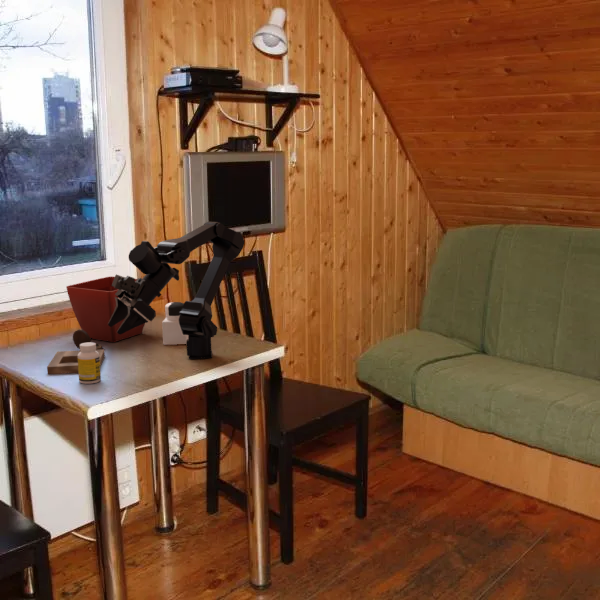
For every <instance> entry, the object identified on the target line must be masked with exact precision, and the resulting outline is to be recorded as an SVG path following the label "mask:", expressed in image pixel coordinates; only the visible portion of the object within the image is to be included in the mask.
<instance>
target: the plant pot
mask: <svg viewBox="0 0 600 600" xmlns="http://www.w3.org/2000/svg"><path fill="white" fill-rule="evenodd" d="M114 278H115V276H105V277H101V278H97V279H92V280H88V281H83V282H79V283H75V284H69V285H66V291H67V296H68V299H69V302H70V305H71V308H72V311H73V313H74V316H75V318H76V321H77V322H78V325H79V327H80V329H82V330H84V331H85V332H86V333H87V334H88V335H89V337H90V339H91V338H92V339H93V340H99V341H104V342H111V343H115V342H118V341H122V340H126V339H128V338H131V337H135V336H138V335H140V334H142V333H143V331H144V329H145V326H146V323H144V324H142V325H139V326H137V327H135V328H133V329H131V330H129V331H127V332H125V333H123V334H121V335H119V334H118V333H117V330H118V329H119V327H120V325H121V324H122V322H123V321H124V319H123V320H122V321H120V322H118V323H117V324H115V325H114V326H112V327H110V326H109V325H108V322H109V320H110V318H111V316H112V314H113V312H114V310H115V307H116V300H115V297H117V296H116V295H115V293H116V292H117V291H118V290H119V289H116V288H114V286H112V283H113V281H114ZM137 279H138V278H135V281H136V280H137ZM117 298H118V297H117Z"/></svg>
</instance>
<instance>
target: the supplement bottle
mask: <svg viewBox="0 0 600 600" xmlns="http://www.w3.org/2000/svg"><path fill="white" fill-rule="evenodd" d="M96 344H97V343H96V342H92V341H91V342H87V343H82V344H80V349H79V350H80V351H81V352H80V353H79V354H78V372H79V373H78V381H79V383H80V384H83V385H91V384H97V383H99V382H101V378H102V375H101V366H100V356H99V353H98V352H97V351H95V350H96Z"/></svg>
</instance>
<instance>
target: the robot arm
mask: <svg viewBox="0 0 600 600" xmlns="http://www.w3.org/2000/svg"><path fill="white" fill-rule="evenodd" d="M208 242H209V243H211V244H212V246H211V247H212V255H213V256H212V258H211V261H210V263H209V266H208V267H207V270H206V272H205V275H204V276H203V279H202V281H201V283H200V285H199V288H198V290H197V292H196V295H195V296H194V298H193V299H192V300H191V301H190V300H185V302H183V303H184V305H183V308H182V310H181V311H180V312H179V314H180V316H179V324H180V327H181V330H182V333H183V335H188V339H187V341H186V356H188V360H198V359H199V360H201V359H202V360H203V359H204V360H205V359H212V358H213V350H212V338H214V337H215V336H217V332H218V327H217V325H216V324H215V323H214V322H213V320H212V318H213V311H212V304H213V302H214V300H215V298H216V295H217V292H218V291H219V288H220V286H221V283H222V281H223V279H224V276H225V274H226V272H227V270H228V267H229V266H230V263H232V261H234V260H235V259H237V258H238V257H239V255H240V254H241V252H242V250H243V249H244V245H245V239H244V237H243V235H242V233H240V232H237V231H236V230H233V229H231V228H229V227H227V226H225V225H224V224H223V223H221V222H218V221H206V222H204V223H203V225H200V226H198V227H197V228H195V229H194V230H192V231H190V232H188V233H186V234H184V235H182V236H180V237H177V238H170V239H167V240H163V241H160V242H159V243H157V245H156V246H155V247H154V246H153V245H152V244H151V242H149V240H142V241H141V243H140V244H138V245H136V246H135V247H133V248H132V249H131V250H130V251H129V254H128V260H129V262H130V263H131V264H132V265H134V266H135V267H136V269H138V270H139V271H140V272H141V273H143V275H144V276H143V277H142V278H141V277H138V278H135V277H131V276H129V275H126V277H125V276H122V275H119V274H116V273H115V274H114V275H115V276H114V277H115V278H114V281H113V283H112V286H114V288H116V289H119V290H118V291H117V292H116V293H115V295H116V296H117V297H118V298H117V297H115V300H116V307H115V310H114V312H113V314H112V316H111V318H110V320H109V322H108V325H109V326H110V327H112V326H114V325H115V324H117V323H118V322H120V321H122V320H123V319H124V321H123V322H122V324H121V325H120V327H119V329H118V330H117V333H118V334H119V335H121V334H123V333H125V332H127V331H129V330H131V329H133V328H135V327H137V326H139V325H142V324H144V323H145V324H147V323H149V322H152V321H153V320H154V319H155V318H156V316H157V315H156V314H157V313H156V312H157V311H156V310H155V309H154V308H153V307H152V306H151V304H152V302H153V301H154V300H155V299H156V298H160V297H161V296H162V294H161V292H162V290H164V288H165V287H166V286H167V284H168V283H170V281H171V280H172V279H174V280H176V281H179V280H180V274H179V272H180V270H179V269H177V268H176V267H172V266H171V265H169V264H172V265H181V264H183V263H184V262H185V261H186V260H187V259H188V258H189V257H190V256H191V252H193V251H194V250H196V249H198V248H200V247H201V246H203V245H205V244H207V243H208ZM135 279H137V280H136V281H135Z"/></svg>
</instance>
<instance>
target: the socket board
mask: <svg viewBox="0 0 600 600" xmlns="http://www.w3.org/2000/svg"><path fill="white" fill-rule="evenodd" d="M95 351H97V352H98V353H99V356H100V367H101V366H102V363H103V362H102V361H104V359H105V357H106V353H105V349H104V348H103V349H100V350H95ZM80 352H81V351H80V349H78V350H63V351H62V350H60V351H59V350H58V351H56V353H55V354H54V356H53V357H52V359H51V360H50V362H49V363H48V365H47V366H46V370H47V375H58V374H59V375H60V374H77V373H78V374H79V372H78V354H79V353H80ZM104 356H105V357H104Z"/></svg>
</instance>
